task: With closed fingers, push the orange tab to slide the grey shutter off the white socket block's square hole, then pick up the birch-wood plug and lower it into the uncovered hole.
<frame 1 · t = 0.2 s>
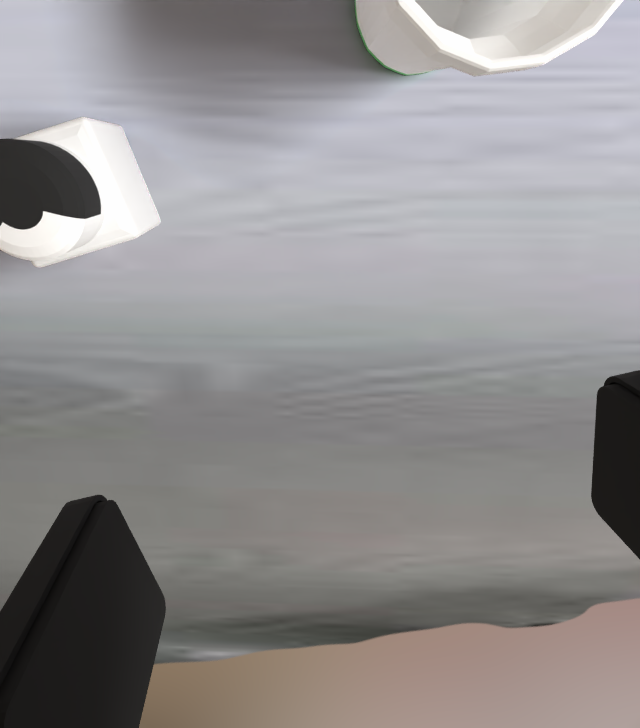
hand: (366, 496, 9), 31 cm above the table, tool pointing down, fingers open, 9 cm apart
cup: (413, 4, 31), on the table
medicine bottle: (99, 189, 34), on the table
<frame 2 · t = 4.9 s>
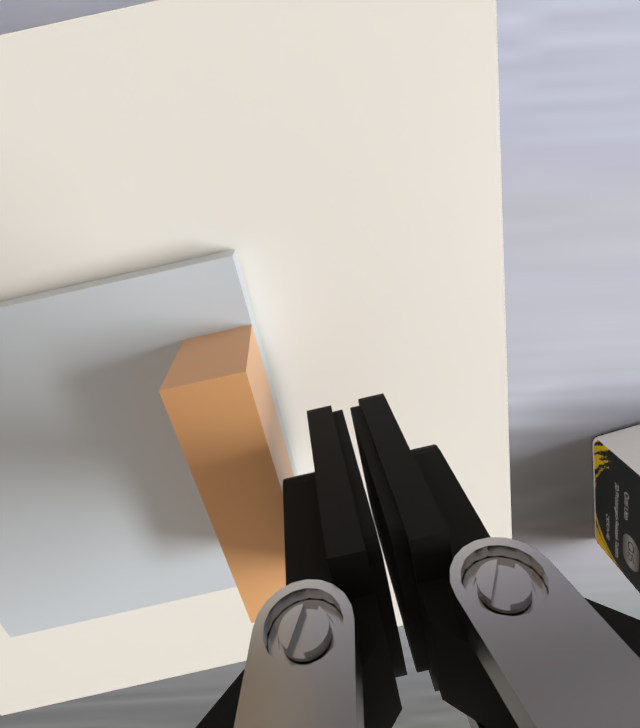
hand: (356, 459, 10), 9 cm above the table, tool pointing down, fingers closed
socket: (206, 345, 18), on the table
shutter: (91, 501, 10), point 9 cm above the table, slide at 1.5 cm, touching gripper
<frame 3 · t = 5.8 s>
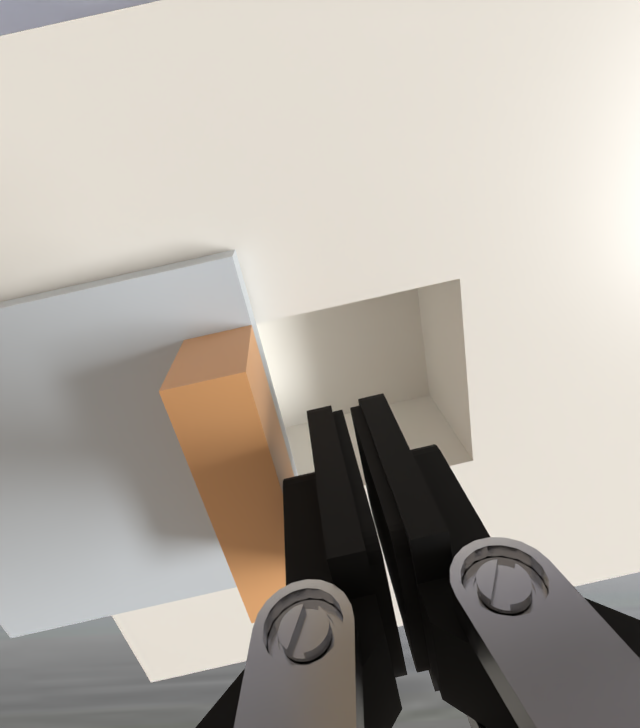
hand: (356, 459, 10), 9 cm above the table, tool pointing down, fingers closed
socket: (333, 316, 18), on the table
shutter: (91, 501, 10), point 9 cm above the table, slide at 6.7 cm, touching gripper
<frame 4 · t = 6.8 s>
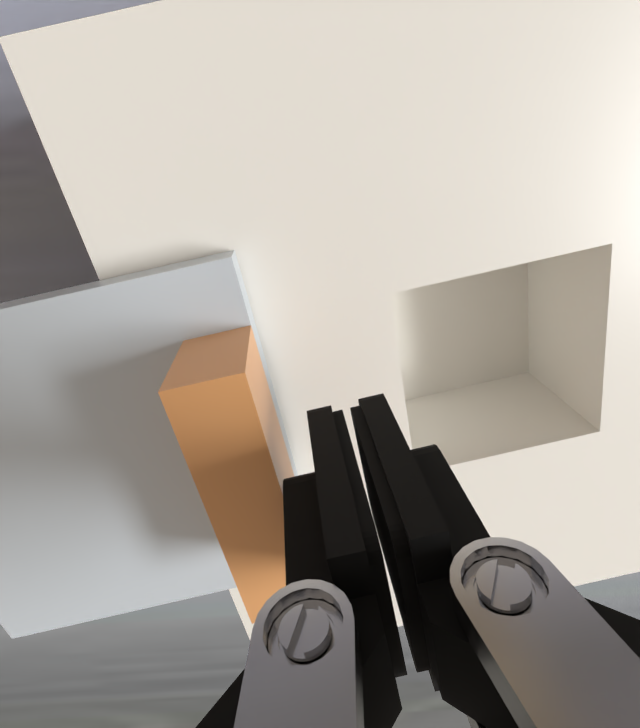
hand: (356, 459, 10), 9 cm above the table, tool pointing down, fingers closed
socket: (424, 296, 18), on the table
shutter: (91, 502, 10), point 9 cm above the table, slide at 10.4 cm, touching gripper
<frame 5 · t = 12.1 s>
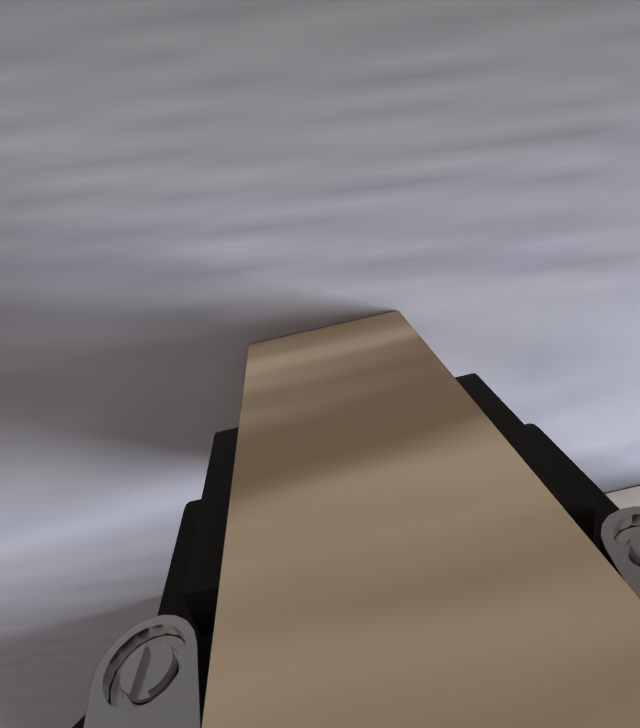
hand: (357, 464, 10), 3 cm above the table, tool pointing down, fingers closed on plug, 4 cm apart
socket: (452, 692, 19), on the table
plug: (337, 393, 13), on the table, touching gripper
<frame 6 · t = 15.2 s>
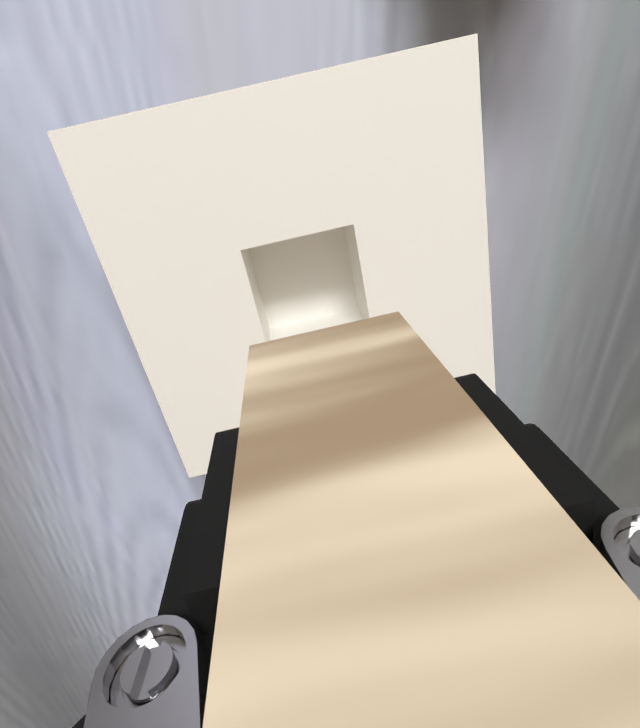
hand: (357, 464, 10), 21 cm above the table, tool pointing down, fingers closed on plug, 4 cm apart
socket: (301, 263, 29), on the table
plug: (338, 394, 13), point 18 cm above the table, touching gripper
when the fingers open (8 cm above the table, at t = 18.4 s): plug drops 1 cm, resting on socket.
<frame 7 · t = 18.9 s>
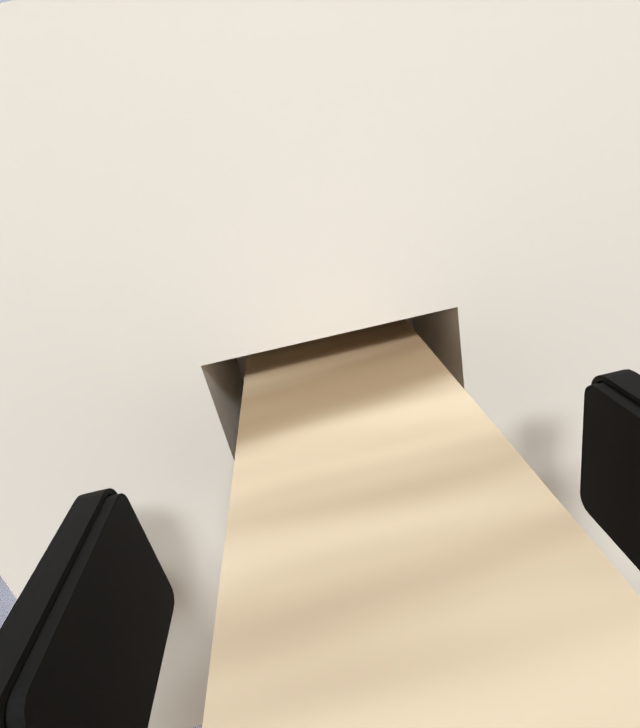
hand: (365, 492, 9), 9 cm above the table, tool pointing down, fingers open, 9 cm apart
socket: (321, 336, 17), on the table
plug: (331, 371, 14), point 3 cm above the table, touching socket
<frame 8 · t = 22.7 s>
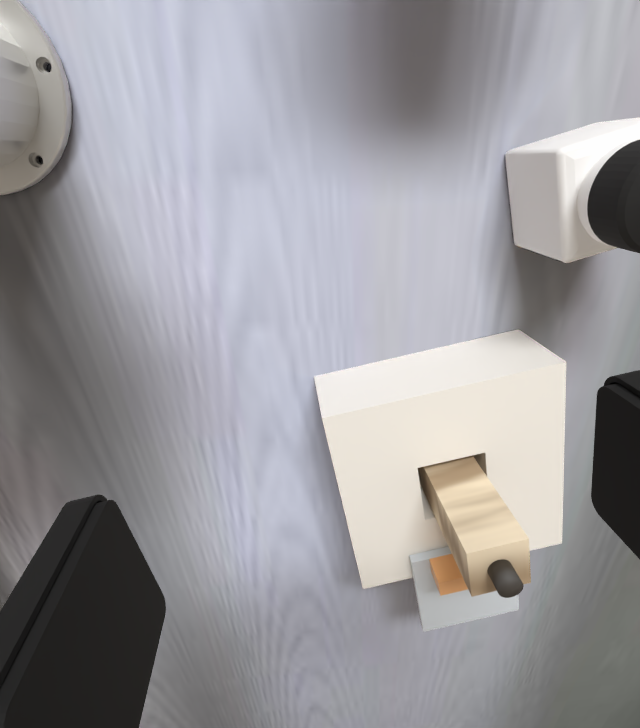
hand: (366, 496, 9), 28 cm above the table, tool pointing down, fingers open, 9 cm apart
socket: (427, 438, 43), on the table
shutter: (471, 595, 39), point 9 cm above the table, slide at 10.6 cm
medicine bottle: (552, 186, 35), on the table
plug: (437, 457, 40), point 3 cm above the table, touching socket
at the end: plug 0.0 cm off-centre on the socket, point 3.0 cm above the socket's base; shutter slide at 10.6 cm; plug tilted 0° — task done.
